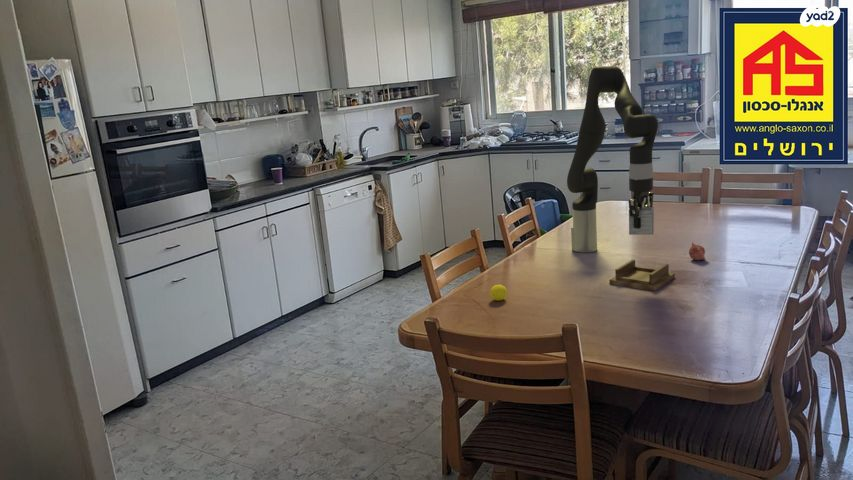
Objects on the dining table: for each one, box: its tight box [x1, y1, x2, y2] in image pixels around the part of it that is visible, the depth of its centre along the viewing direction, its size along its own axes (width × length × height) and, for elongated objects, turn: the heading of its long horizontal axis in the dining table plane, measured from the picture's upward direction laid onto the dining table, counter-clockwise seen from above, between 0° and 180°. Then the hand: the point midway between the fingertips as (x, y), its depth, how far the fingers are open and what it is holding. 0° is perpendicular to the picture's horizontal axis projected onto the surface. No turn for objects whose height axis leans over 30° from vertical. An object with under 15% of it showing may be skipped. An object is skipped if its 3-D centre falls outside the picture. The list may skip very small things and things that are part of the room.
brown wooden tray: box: [609, 259, 676, 292], centre depth 227 cm, size 16×16×5 cm
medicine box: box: [628, 207, 655, 236], centre depth 222 cm, size 8×4×9 cm, turn 70°
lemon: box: [489, 284, 508, 302], centre depth 220 cm, size 7×5×5 cm
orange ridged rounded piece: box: [688, 242, 707, 261], centre depth 244 cm, size 8×8×6 cm
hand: (641, 225), depth 223 cm, fingers closed on medicine box, 5 cm apart
